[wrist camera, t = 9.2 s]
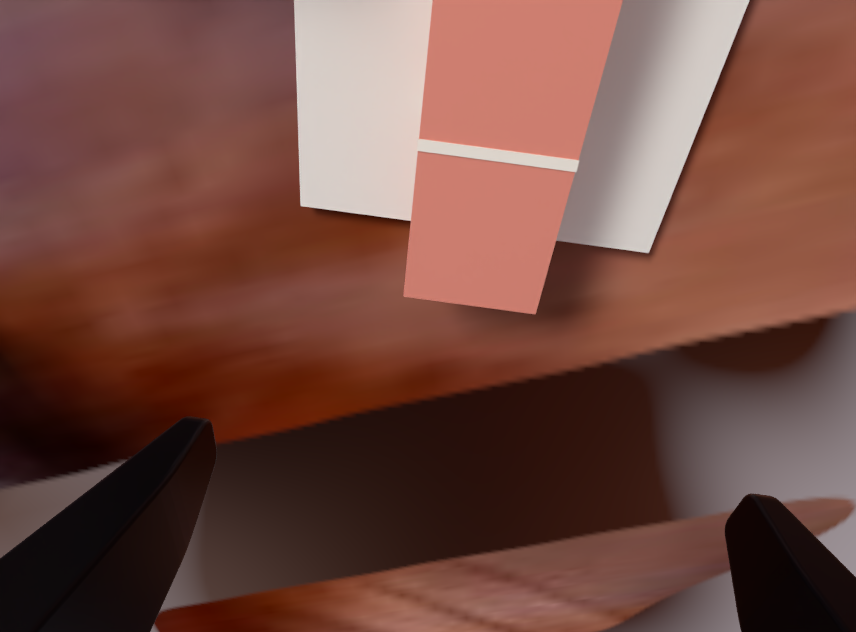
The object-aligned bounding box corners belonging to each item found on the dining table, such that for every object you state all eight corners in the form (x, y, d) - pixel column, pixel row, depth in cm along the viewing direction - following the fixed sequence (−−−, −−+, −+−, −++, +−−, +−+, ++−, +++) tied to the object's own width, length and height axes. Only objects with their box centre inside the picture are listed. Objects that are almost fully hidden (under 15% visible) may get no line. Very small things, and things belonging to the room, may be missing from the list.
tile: (644, 244, 20) (648, 253, 20) (305, 198, 20) (300, 205, 20) (826, -222, 13) (839, -226, 12) (292, -294, 13) (284, -302, 12)
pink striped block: (529, 254, 20) (536, 315, 17) (414, 239, 20) (402, 297, 17) (678, -343, 11) (741, -418, 9) (478, -370, 11) (476, -454, 9)
